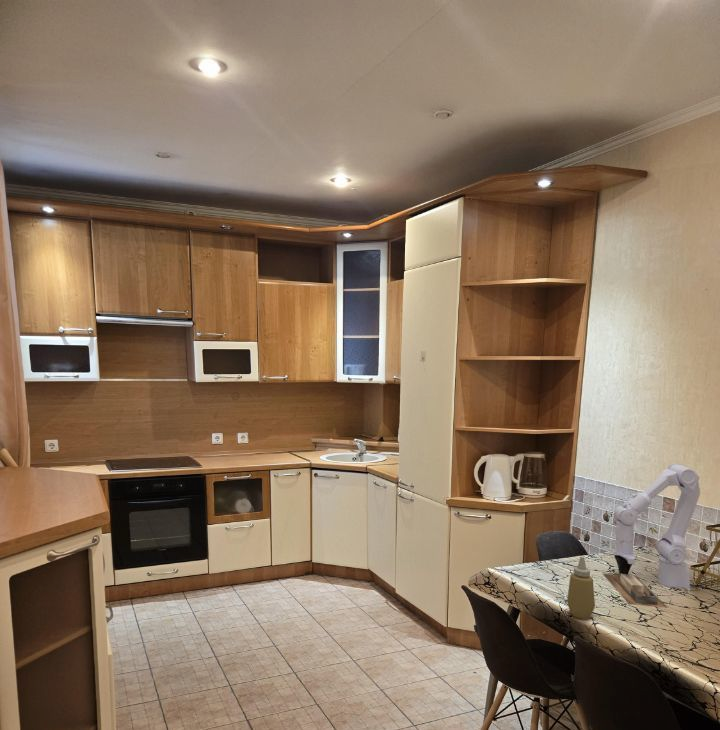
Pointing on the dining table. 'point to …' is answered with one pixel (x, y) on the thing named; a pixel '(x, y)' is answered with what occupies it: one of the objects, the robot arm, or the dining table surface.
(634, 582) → the cream rectangular block
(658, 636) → the dining table surface
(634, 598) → the board
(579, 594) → the squeeze bottle
